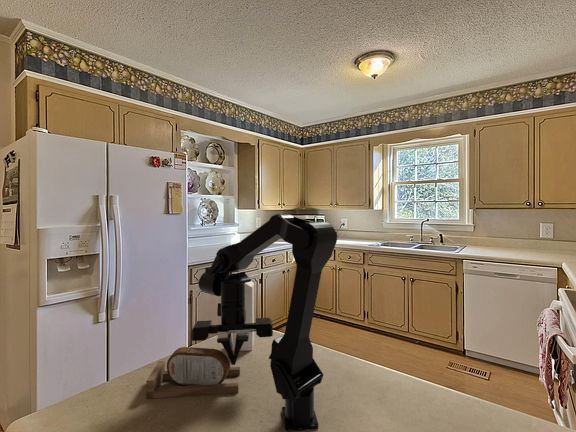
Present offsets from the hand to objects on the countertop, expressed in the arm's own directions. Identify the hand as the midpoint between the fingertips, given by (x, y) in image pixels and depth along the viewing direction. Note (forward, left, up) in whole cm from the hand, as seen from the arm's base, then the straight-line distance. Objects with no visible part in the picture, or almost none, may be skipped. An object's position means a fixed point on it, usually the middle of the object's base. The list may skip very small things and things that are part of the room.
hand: (233, 364), depth 75 cm
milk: (+20, -2, -5) cm, 21 cm away
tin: (0, +9, -5) cm, 10 cm away
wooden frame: (0, +8, -5) cm, 9 cm away
